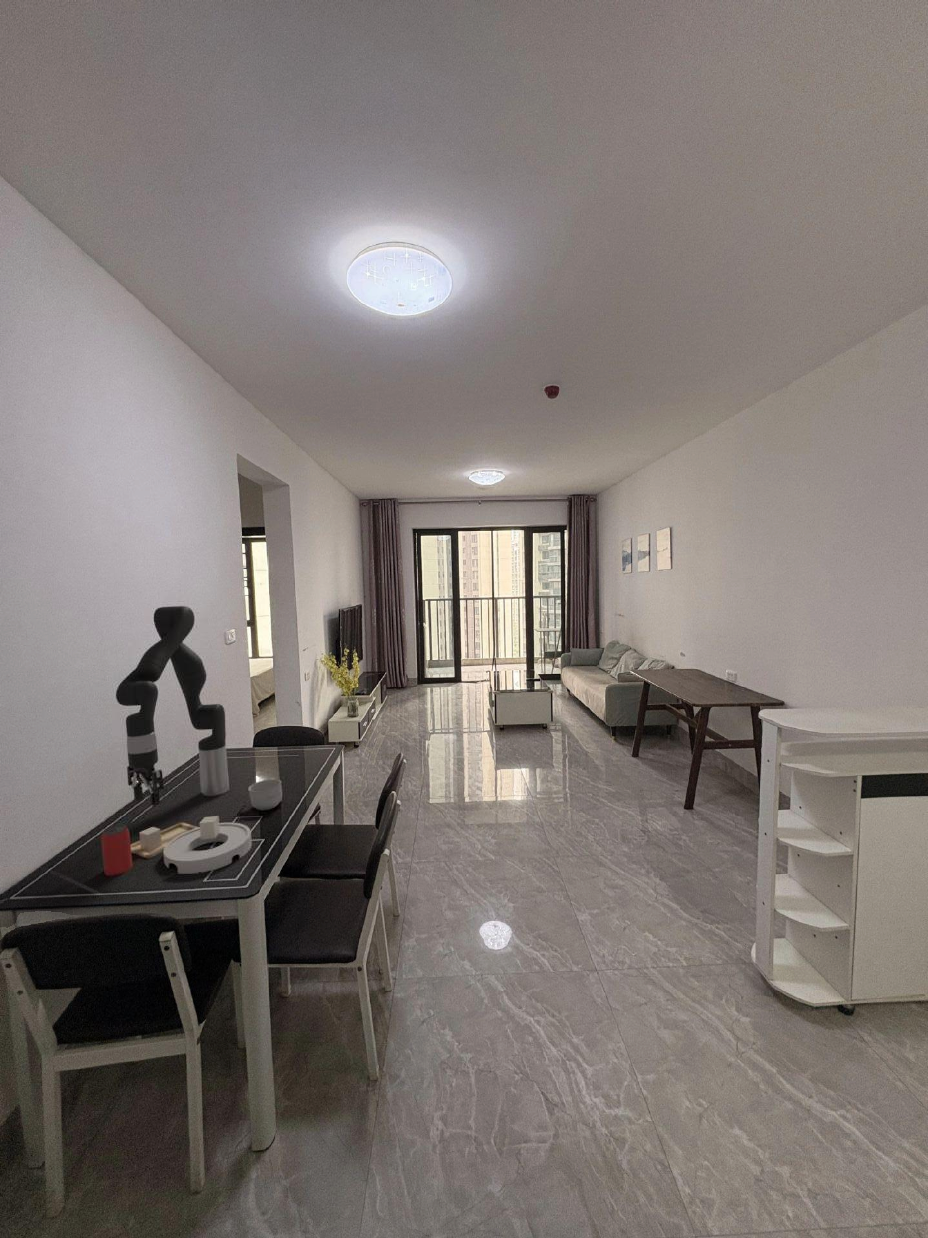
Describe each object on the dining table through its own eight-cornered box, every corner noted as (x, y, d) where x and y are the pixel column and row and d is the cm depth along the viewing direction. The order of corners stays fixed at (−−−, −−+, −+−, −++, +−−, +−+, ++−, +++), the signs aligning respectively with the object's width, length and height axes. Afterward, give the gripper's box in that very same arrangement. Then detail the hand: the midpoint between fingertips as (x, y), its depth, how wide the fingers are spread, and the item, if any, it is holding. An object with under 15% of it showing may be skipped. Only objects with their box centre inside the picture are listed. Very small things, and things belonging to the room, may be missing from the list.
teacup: (272, 814, 185) (270, 791, 184) (243, 812, 187) (241, 790, 186) (293, 797, 198) (291, 775, 198) (266, 796, 200) (264, 775, 200)
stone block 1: (140, 848, 163) (139, 832, 162) (154, 842, 166) (152, 826, 166) (148, 851, 161) (147, 835, 160) (161, 845, 164) (160, 829, 164)
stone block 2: (201, 839, 161) (199, 823, 160) (206, 833, 165) (204, 817, 164) (215, 838, 161) (213, 821, 160) (220, 832, 165) (218, 816, 164)
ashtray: (155, 882, 146) (154, 868, 145) (174, 843, 168) (172, 830, 168) (248, 865, 152) (247, 851, 152) (254, 829, 175) (253, 817, 174)
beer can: (113, 865, 155) (108, 824, 154) (137, 863, 155) (133, 822, 154) (99, 878, 148) (95, 835, 147) (125, 876, 149) (120, 833, 148)
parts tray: (124, 851, 163) (124, 847, 163) (182, 826, 178) (181, 822, 178) (148, 860, 157) (147, 856, 157) (205, 833, 172) (204, 829, 172)
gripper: (115, 749, 162) (120, 803, 163) (143, 755, 154) (148, 811, 156) (141, 742, 168) (146, 794, 169) (169, 747, 161) (173, 801, 162)
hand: (147, 802), depth 162 cm, fingers open, 8 cm apart
